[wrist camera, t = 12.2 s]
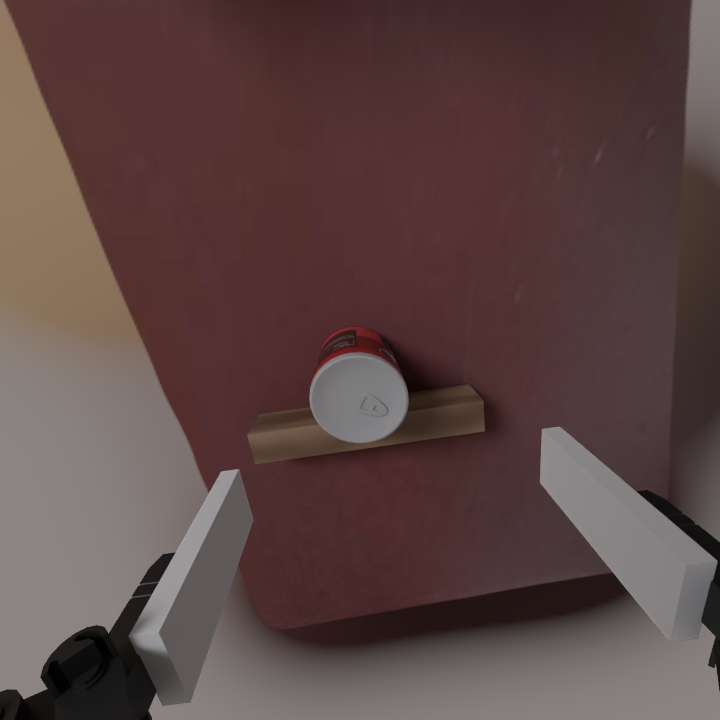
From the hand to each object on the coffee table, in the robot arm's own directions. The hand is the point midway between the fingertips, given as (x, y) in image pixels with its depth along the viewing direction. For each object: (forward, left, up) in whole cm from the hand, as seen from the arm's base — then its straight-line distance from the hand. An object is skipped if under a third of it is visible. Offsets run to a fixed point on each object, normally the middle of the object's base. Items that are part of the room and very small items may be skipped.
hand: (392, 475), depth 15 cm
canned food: (+2, -1, -23) cm, 23 cm away
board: (+8, -1, -23) cm, 25 cm away
